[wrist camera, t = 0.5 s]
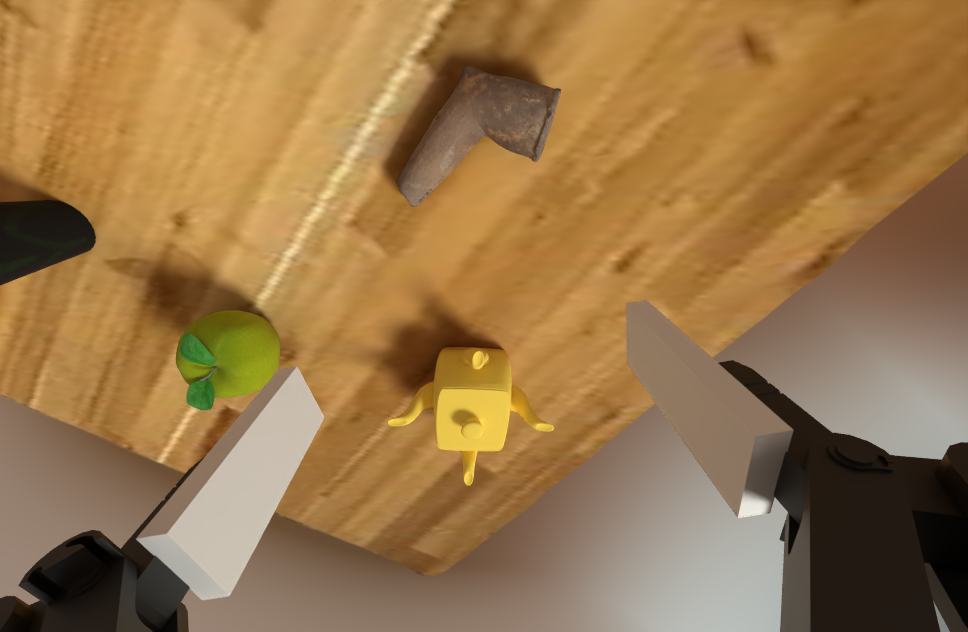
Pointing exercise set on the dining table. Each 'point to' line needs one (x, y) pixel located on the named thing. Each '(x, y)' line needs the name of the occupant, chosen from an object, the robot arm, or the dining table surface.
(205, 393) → the fruit
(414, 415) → the teapot
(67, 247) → the cup
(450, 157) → the pipe
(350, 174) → the dining table surface
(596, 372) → the dining table surface
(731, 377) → the robot arm
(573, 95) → the dining table surface
